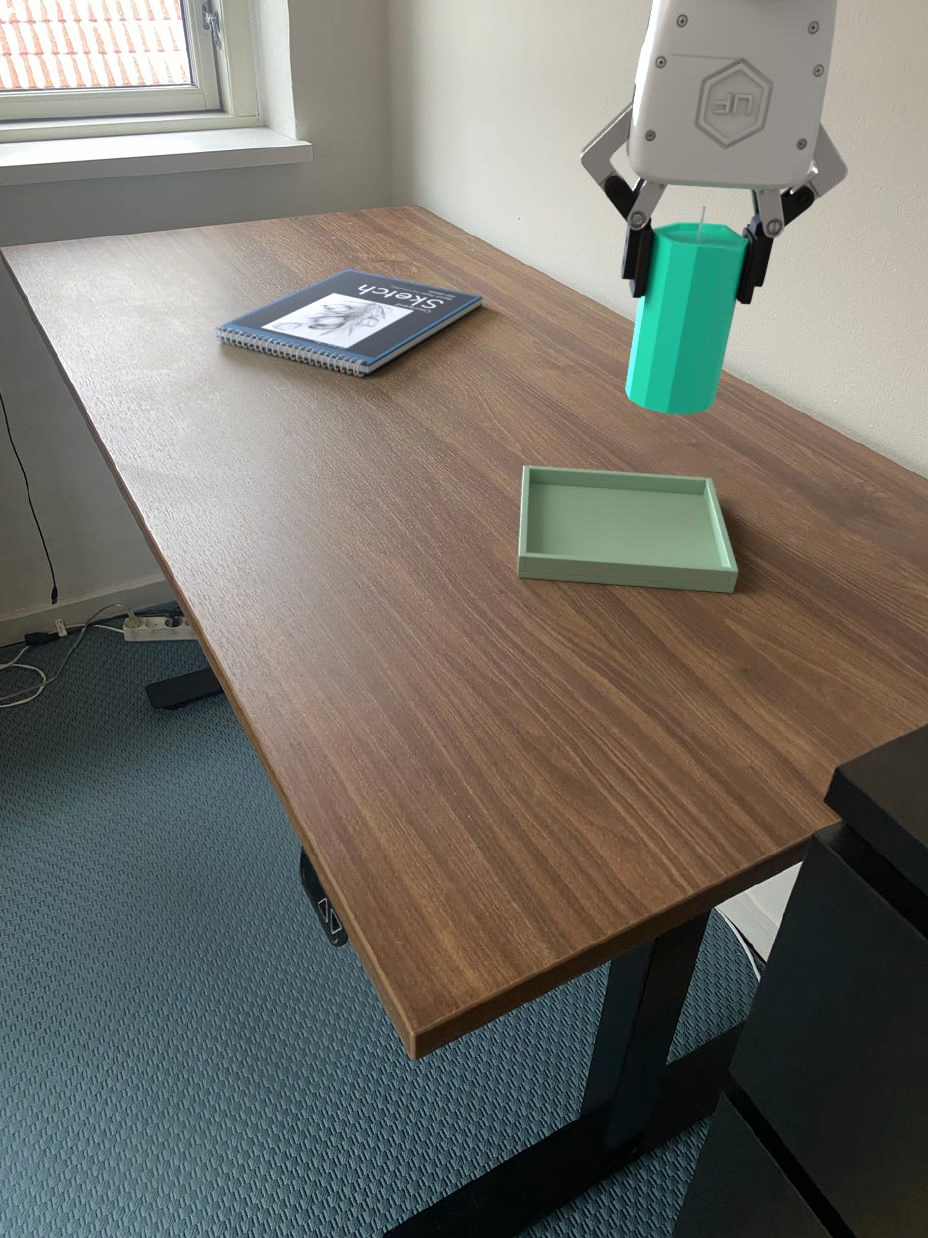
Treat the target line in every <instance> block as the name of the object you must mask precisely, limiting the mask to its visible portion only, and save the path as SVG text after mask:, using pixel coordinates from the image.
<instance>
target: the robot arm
mask: <svg viewBox="0 0 928 1238" xmlns="http://www.w3.org/2000/svg"><path fill="white" fill-rule="evenodd" d="M837 7H838V0H652V5H651V8H650V13H649V17H648V22H647V26H646V29H645V32H644V36H643V40H642V45H641V51H640V55H639V60H638V65H637V71H636V76H635V80H634V87H633V92H632V98H631V101H630V102H629V103H628V104H627V105H626V106H625V107H624V108H623V109H622V110H621V111H620V112H619V113H618V114H617V115H616V116H615V117H614V118H613V119H611V121H609V123H607V124H606V125H605V126H604V127H603V128H602V129H601V130H600V131H599V132H598V133H597V134H596V135H595V136H594V137H593V138H592V139H591V140H590V141H589V142H588V143H586V145H585V146H583V148H582V149H581V150H580V154H579V157H580V163H581V165H582V167H583V168H584V169H585V170H586V172H587V173H588V174H589V175H590V177H591V178H592V179H593V180H594V182H595V183H596V184H597V186H599V187H600V189H601V190H602V191H603V193H604V194H605V196H606V197H607V199H608V200H609V201H610V203H611V204H612V205H613V206H614V208H615V209H616V210H617V211H618V213H619V214H620V216H621V217H622V218H623V219H624V221H625V222H626V223H627V226H626V230H625V237H624V238H625V239H624V246H623V254H622V261H621V271H620V277H621V280H628V286H629V289H630V293H631V298H632V299H639V298H641V297H642V296H645V291H646V284H647V278H648V272H649V265H650V259H651V253H652V246H653V240H654V232H653V229H654V228H653V227H652V219H653V218H652V215H653V213H654V212H655V209H656V208H657V206H658V203H659V202H660V200H661V198H662V196H663V194H664V192H665V191H666V189H667V187H668V185H669V186H670V185H671V186H682V187H701V188H719V189H736V190H737V189H740V190H749V191H750V195H751V203H752V209H753V210H752V211H753V216H752V217H751V218H750V222H749V223H747V224H746V227H743V229H742V233H741V236H742V237H744V238H747V239H749V244H748V248H747V253H746V258H745V262H744V267H743V272H742V276H741V281H740V285H739V290H738V295H737V300H736V301H737V302H738V303H740V304H741V305H751V304H752V301H753V296H754V292H755V288H762V287H763V285H764V282H765V281H766V275H767V271H768V266H769V262H770V257H771V254H772V249H773V245H774V241H775V238H778V237H779V236H781V234H783V232H784V230H785V228H786V227H787V226H788V225H790V224H791V223H792V222H793V221H795V220H796V219H797V218H798V217H800V216H801V215H802V214H803V213H805V212H806V211H807V210H808V209H810V208H811V207H812V206H813V204H814V203H815V201H816V200H818V199H819V198H822V197H823V196H824V195H826V194H827V193H828V192H829V191H831V190H833V188H836V186H837V185H839V184H840V183H841V182H843V181H844V180H845V178H847V176H848V172H849V169H848V166H847V164H846V163H845V161H844V159H843V158H842V156H841V154H840V152H839V151H838V148H837V147H836V146H835V144H834V142H833V140H832V139H831V138H830V136H829V134H828V133H827V131H826V129H825V127H824V125H823V124H822V122H821V120H822V113H823V108H824V102H825V97H826V90H827V85H828V78H829V72H830V66H831V65H830V64H831V60H832V59H831V58H832V52H833V44H834V43H833V42H834V36H835V28H836V17H837ZM625 143H626V144H625ZM624 144H625V146H626V147H625V149H626V150H625V151H626V155H627V158H628V161H629V162H628V163H629V166H630V167H631V169H632V171H633V172H634V174H635V175H637V176H638V178H637V180H636V182H635V184H634V185H633V188H631V186H630V185H629V184H628V182H627V181H626V180H625V178H624V177H623V176H622V174H621V173H619V171H618V170H617V168H615V165H613V163H612V162H611V160H612V157H613V155H614V154H615V153H616V152H617V151H618V150H619V149H620V148H621V147H622V146H623V145H624ZM812 163H813V164H812ZM811 165H812V168H811ZM810 168H811V170H810ZM781 190H784V191H783V192H782V193H781Z"/></svg>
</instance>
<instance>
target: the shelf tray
mask: <svg viewBox="0 0 928 1238" xmlns="http://www.w3.org/2000/svg"><path fill="white" fill-rule="evenodd" d="M520 492H521V494H520V513H519V531H518V532H519V534H518V551H517V568H516V569H517V571H516V577H517V578H520V579H531V580H546V581H560V582H574V583H587V584H588V583H589V584H601V585H602V584H603V585H615V586H628V587H629V586H630V587H644V588H657V589H670V590H682V591H683V590H684V591H699V592H711V593H727V594H733V593H734V591H735V587H736V584H737V579H738V576H739V568H738V564H737V561H736V557H735V554H734V551H733V547H732V543H731V540H730V537H729V533H728V530H727V526H726V523H725V519H724V516H723V515H724V514H723V512H722V509H721V505H720V502H719V498H718V495H717V491H716V488H715V484H714V481H713V478H712V477H704V476H702V477H701V476H686V475H674V474H660V473H658V474H657V473H644V472H643V473H642V472H628V471H615V470H600V469H587V468H586V469H585V468H584V469H583V468H570V467H553V466H540V465H523V466H522V477H521V491H520Z"/></svg>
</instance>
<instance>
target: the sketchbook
mask: <svg viewBox="0 0 928 1238" xmlns="http://www.w3.org/2000/svg"><path fill="white" fill-rule="evenodd" d="M481 306H483V296H481V295H477V294H471V293H467V292H462V291H457V290H453V289H448V288H442V287H438V286H433V285H430V284H429V285H428V284H424V283H418V282H415V281H409V280H403V279H399V278H394V277H389V276H385V275H379V274H375V273H370V272H365V271H360V270H355V269H350V268H346V269H343V270H342V271H340V272H338V273H335V274H333V275H331V276H329V277H327V278H324V279H321V280H320V281H317V282H315V283H312V284H310V285H308V286H307V287H304V288H302V289H300V290H297V291H294V292H292V293H291V294H288V295H286V296H284V297H282V298H279V299H277V300H274V301H272V302H270V303H268V304H266V305H264V306H260V307H259V308H257V309H255V310H254V309H253V310H252V311H250V312H247V313H245V314H244V315H241V316H239V317H236V318H234V319H232V320H230V321H228V322H225V323H223V324H221V325H218V326H216V327H215V339H216V340H217V341H218V343H219V342H220V343H224V342H225V343H226V344H227V345H228V344H231V345H232V346H236V345H237V347H240V348H241V347H242V348H244V349H247V348H248V350H251V351H252V350H255V351H257V352H259V351H260V352H261V353H263V354H264V353H266V354H267V355H271V354H272V355H273V356H277V355H278V357H280V358H282V357H284V358H285V359H291V360H292V361H295V360H296V361H297V362H303V363H304V364H307V363H308V364H309V365H315V366H316V367H320V366H321V367H322V368H323V369H325V368H327V369H328V370H332V369H334V371H335V372H338V371H339V370H340V372H341V373H345V372H346V373H347V375H351V374H353V376H354V377H355V376H358V377H359V378H362V377H364V376H365V375H369V374H371V373H373V372H374V371H376V370H378V369H380V368H382V367H383V366H384V365H387V364H388V363H389V362H391V361H393V360H394V359H396V358H397V357H399V356H401V355H402V354H404V353H405V352H408V351H409V350H410V349H412V348H414V347H415V346H417V345H419V344H420V343H422V342H423V341H424V342H425V340H427V339H429V338H430V337H431V336H433V335H435V334H436V333H438V332H440V331H442V330H443V329H445V328H446V327H448V326H450V325H451V324H453V323H455V322H456V321H458V320H459V319H462V318H463V317H464V316H466V315H468V314H470V313H471V312H473V311H475V310H476V309H477V308H479V307H481Z"/></svg>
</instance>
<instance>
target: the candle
mask: <svg viewBox="0 0 928 1238" xmlns="http://www.w3.org/2000/svg"><path fill="white" fill-rule="evenodd" d="M705 212H706V206H702V211H701V215H700V221H699V222H682V221H681V222H680V221H679V222H678V221H677V222H673V223H669V224H665V225H662V226H657V227H655V228H652V229H653V232H654V240H653V246H652V253H651V259H650V265H649V272H648V278H647V284H646V291H645V296H642V297H641V298H638V302H637V310H636V317H635V323H634V330H633V337H632V343H631V350H630V356H629V364H628V368H627V369H628V370H627V376H626V382H625V389H624V390H625V393H626V395H627V397H628V400H629V401H631V402H633V403H635V404H636V405H638V406H640V407H641V408H643V409H646V410H650V411H655V412H658V413H662V414H666V415H693V414H697V413H700V412H704V411H708V410H709V409H710V408H711V407H712V405H713V404H714V403H715V401H716V398H717V392H718V388H719V384H720V379H721V374H722V370H723V365H724V362H725V361H724V360H725V356H726V350H727V347H728V342H729V338H730V333H731V328H732V324H733V318H734V315H735V309H736V306H737V305H736V304H737V301H738V300H737V295H738V290H739V285H740V281H741V276H742V272H743V267H744V262H745V258H746V253H747V248H748V244H749V239H747V238H744V237H742V235H740V234H739V233H738V232H736V231H735V230H733V229H732V228H731V227H729V226H727V224H719V223H710V222H704V217H705Z"/></svg>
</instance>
